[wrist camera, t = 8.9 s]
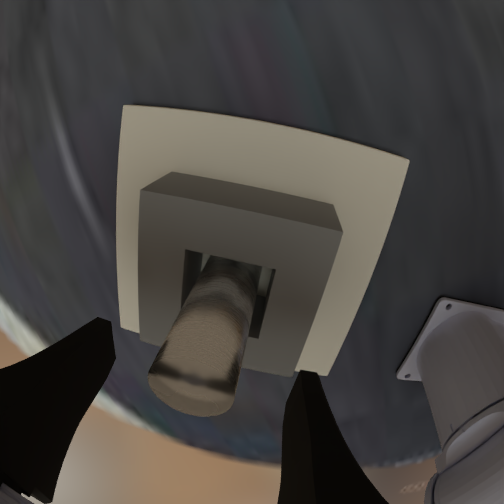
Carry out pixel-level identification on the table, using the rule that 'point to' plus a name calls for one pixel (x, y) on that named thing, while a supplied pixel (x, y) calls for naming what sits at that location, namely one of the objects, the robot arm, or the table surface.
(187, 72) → the table surface
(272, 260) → the socket block on plate
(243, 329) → the steel pin
